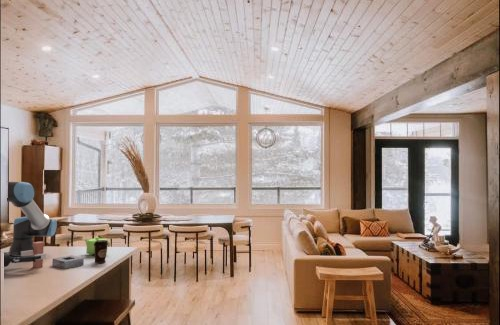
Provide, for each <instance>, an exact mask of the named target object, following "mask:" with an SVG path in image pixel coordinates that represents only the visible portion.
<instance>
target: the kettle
mask: <svg viewBox="0 0 500 325" xmlns="http://www.w3.org/2000/svg"><path fill="white" fill-rule="evenodd" d="M83 240H84V241H85V244H86V254H88V256H93V255H95V254H94V253H95V252H94V243H95V241H98V240H107V241H108V238H100V237H99V236H98V237H97V236H95V238H90V239H89V240H88V239H87V238H83ZM107 243H108V245H109V244H110V241H108V242H107Z"/></svg>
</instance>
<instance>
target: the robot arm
mask: <svg viewBox="0 0 500 325" xmlns="http://www.w3.org/2000/svg"><path fill="white" fill-rule="evenodd" d="M7 182H8V198H7V203H8V202H9V203H11V204H12V205H13V206H14V207H16V208H19V209H20V210H21V212H22V213H23V214H24V215H25V216H21V217H20V216H19V217H16V218H15V219H14V220H13V232H12V233H13V234H12V237H13V238H12V242H11V245H10V247H9V253H8V252H5V251H4V252H3V253H4V267H3V268H6V267H8V266H9V265H10V263H12V264H18V263H29V262H30V263H31V262H32V263H33V262H35V261H36V260H40V259H43V260H44V259H45V260H46V258H47V254H46V252H45V253H43V254H38V255H34V256H33V251H34V247H33V242H35V241H34V237H46V238H49V237H50V238H51V237H53V236H54V235H55V234H56V231H57V228H58V223H57V222H58V221H57V219H55V218H50V217H49V215H47V214H44V212H43V211H42V210H41V209H40V207H39V206H38V204H37V203H36V201H35V200H34V197H35V188H34V187H33V185H32V184H31V183H30V182H25V181H7Z"/></svg>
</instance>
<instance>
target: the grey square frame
mask: <svg viewBox="0 0 500 325" xmlns="http://www.w3.org/2000/svg"><path fill="white" fill-rule="evenodd" d="M84 259H85V258H83V257H80V256H76V255H66V256H60V257H54V258H52V264H51V265H52V267H55V268H60V269H63V270H66V269H71V268H76V267H81V266H84V264H85V263H84Z"/></svg>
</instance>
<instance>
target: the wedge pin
mask: <svg viewBox="0 0 500 325" xmlns="http://www.w3.org/2000/svg"><path fill="white" fill-rule="evenodd" d="M45 246H46V243H45V241H43V240H42V241H36V242H35V241H34V242H33V247H34V251H33V255H32V256H34V255H38V254H44V247H45ZM43 263H44V259H40V260H36V261H35V262H32V268H35V269H38V268H43Z"/></svg>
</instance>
